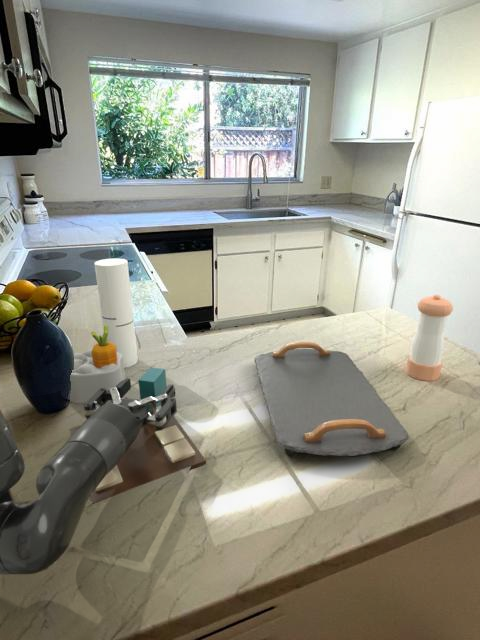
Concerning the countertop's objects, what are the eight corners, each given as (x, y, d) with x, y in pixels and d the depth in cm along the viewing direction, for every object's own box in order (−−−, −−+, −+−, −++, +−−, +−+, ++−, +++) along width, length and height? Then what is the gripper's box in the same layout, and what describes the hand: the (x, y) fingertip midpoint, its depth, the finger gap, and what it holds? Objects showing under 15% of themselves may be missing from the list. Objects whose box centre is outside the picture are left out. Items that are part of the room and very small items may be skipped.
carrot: (101, 401, 82) (91, 334, 77) (94, 391, 86) (84, 326, 81) (125, 394, 85) (117, 329, 79) (117, 384, 89) (109, 321, 83)
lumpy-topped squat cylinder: (121, 403, 82) (117, 365, 79) (54, 408, 80) (47, 370, 77) (127, 378, 92) (123, 343, 88) (67, 382, 90) (61, 347, 87)
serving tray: (251, 360, 100) (251, 337, 97) (342, 356, 102) (344, 334, 99) (280, 472, 64) (282, 440, 62) (419, 462, 66) (426, 431, 64)
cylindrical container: (113, 354, 103) (101, 258, 94) (141, 355, 102) (131, 258, 93) (103, 368, 96) (89, 265, 87) (133, 368, 96) (121, 266, 87)
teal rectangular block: (142, 422, 75) (138, 380, 72) (154, 407, 79) (150, 367, 76) (157, 424, 74) (153, 382, 71) (168, 409, 79) (165, 368, 75)
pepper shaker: (400, 373, 94) (413, 295, 87) (413, 362, 99) (426, 288, 92) (432, 384, 89) (448, 302, 82) (444, 372, 94) (460, 295, 87)
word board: (92, 508, 57) (90, 500, 57) (69, 432, 73) (68, 425, 73) (206, 463, 66) (206, 457, 65) (163, 404, 82) (162, 398, 81)
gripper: (144, 427, 56) (185, 371, 70) (54, 412, 59) (112, 362, 73) (148, 470, 58) (187, 408, 73) (62, 454, 61) (117, 398, 76)
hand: (150, 385), depth 73 cm, fingers open, 8 cm apart
